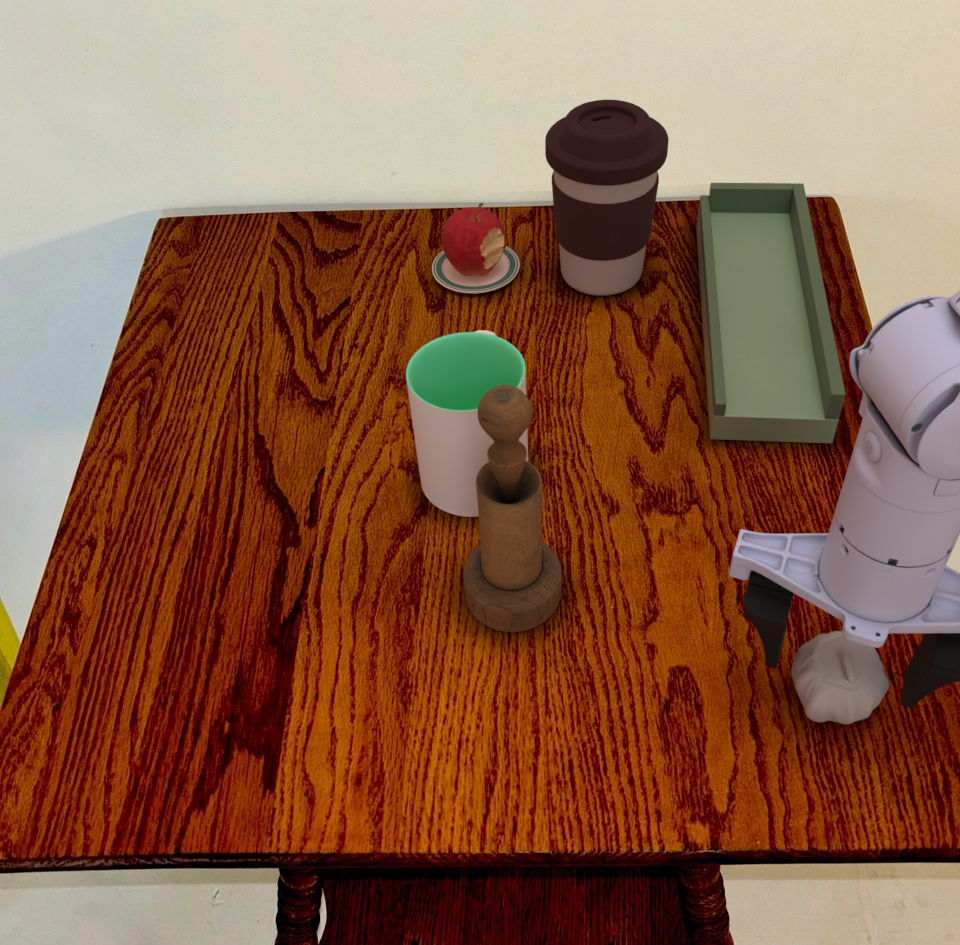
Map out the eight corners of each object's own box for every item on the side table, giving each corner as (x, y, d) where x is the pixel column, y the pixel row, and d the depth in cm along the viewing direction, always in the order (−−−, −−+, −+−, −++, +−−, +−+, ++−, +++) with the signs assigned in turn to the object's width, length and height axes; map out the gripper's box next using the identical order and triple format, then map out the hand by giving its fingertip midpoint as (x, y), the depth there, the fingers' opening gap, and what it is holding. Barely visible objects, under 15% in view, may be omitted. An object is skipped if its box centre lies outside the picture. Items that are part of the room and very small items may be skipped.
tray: (832, 444, 77) (846, 394, 74) (710, 439, 78) (717, 390, 75) (794, 230, 96) (803, 183, 93) (696, 229, 97) (701, 182, 94)
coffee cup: (644, 315, 89) (656, 157, 78) (533, 298, 91) (530, 142, 81) (666, 250, 95) (680, 95, 84) (562, 235, 98) (562, 83, 87)
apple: (524, 247, 97) (522, 185, 92) (514, 299, 92) (511, 236, 87) (440, 243, 98) (434, 182, 93) (425, 295, 93) (418, 233, 88)
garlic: (862, 757, 60) (883, 710, 56) (771, 718, 62) (785, 671, 58) (889, 677, 64) (910, 629, 60) (802, 643, 66) (817, 594, 62)
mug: (436, 401, 83) (424, 296, 75) (536, 404, 82) (534, 298, 74) (412, 513, 75) (396, 408, 67) (523, 519, 74) (520, 413, 66)
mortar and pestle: (555, 638, 67) (556, 441, 54) (457, 628, 68) (433, 432, 55) (566, 558, 71) (568, 358, 58) (473, 549, 72) (455, 351, 59)
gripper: (730, 543, 50) (701, 691, 60) (1053, 627, 46) (965, 771, 56) (759, 446, 55) (728, 599, 65) (1057, 514, 51) (975, 667, 61)
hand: (839, 672), depth 61 cm, fingers open, 7 cm apart
